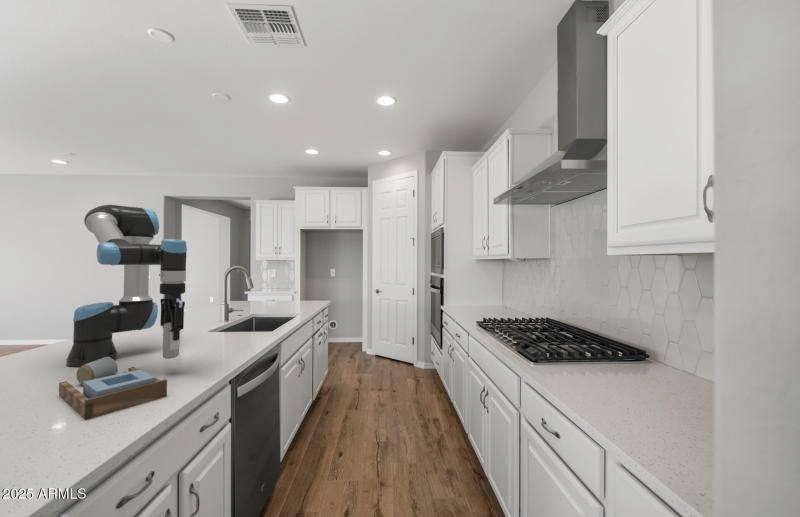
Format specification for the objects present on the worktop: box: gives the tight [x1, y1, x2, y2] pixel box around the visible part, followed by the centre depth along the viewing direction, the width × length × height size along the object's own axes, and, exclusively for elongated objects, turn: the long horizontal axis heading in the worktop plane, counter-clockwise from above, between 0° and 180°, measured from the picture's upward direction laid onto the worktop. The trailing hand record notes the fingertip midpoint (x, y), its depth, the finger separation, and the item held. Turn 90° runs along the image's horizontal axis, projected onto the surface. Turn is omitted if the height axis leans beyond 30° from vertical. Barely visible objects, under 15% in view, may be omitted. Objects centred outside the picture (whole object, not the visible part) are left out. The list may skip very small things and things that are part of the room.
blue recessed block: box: [82, 369, 156, 399], centre depth 95 cm, size 12×13×6 cm
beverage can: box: [162, 322, 180, 360], centre depth 117 cm, size 5×5×12 cm
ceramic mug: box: [76, 357, 119, 386], centre depth 111 cm, size 11×8×8 cm
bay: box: [58, 366, 168, 421], centre depth 98 cm, size 26×18×6 cm
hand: (171, 347), depth 117 cm, fingers closed on beverage can, 5 cm apart
